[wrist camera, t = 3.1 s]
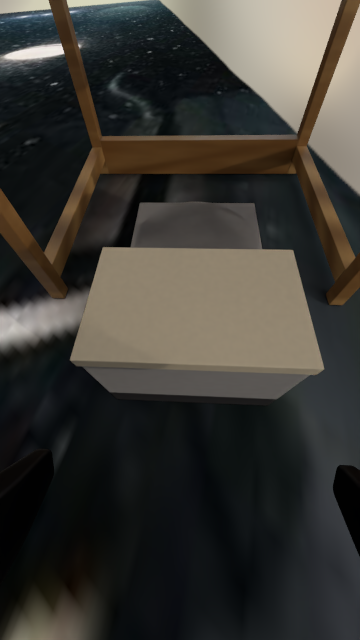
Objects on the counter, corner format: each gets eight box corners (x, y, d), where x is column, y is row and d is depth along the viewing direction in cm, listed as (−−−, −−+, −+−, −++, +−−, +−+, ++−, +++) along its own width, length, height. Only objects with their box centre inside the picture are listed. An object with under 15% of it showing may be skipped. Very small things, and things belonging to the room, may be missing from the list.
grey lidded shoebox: (115, 400, 18) (69, 360, 11) (142, 246, 26) (126, 166, 19) (269, 407, 17) (324, 369, 10) (248, 247, 26) (271, 166, 19)
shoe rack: (342, 305, 22) (842, -207, 5) (52, 298, 23) (-299, -134, 6) (294, 169, 33) (402, -128, 16) (102, 169, 34) (22, -108, 18)
